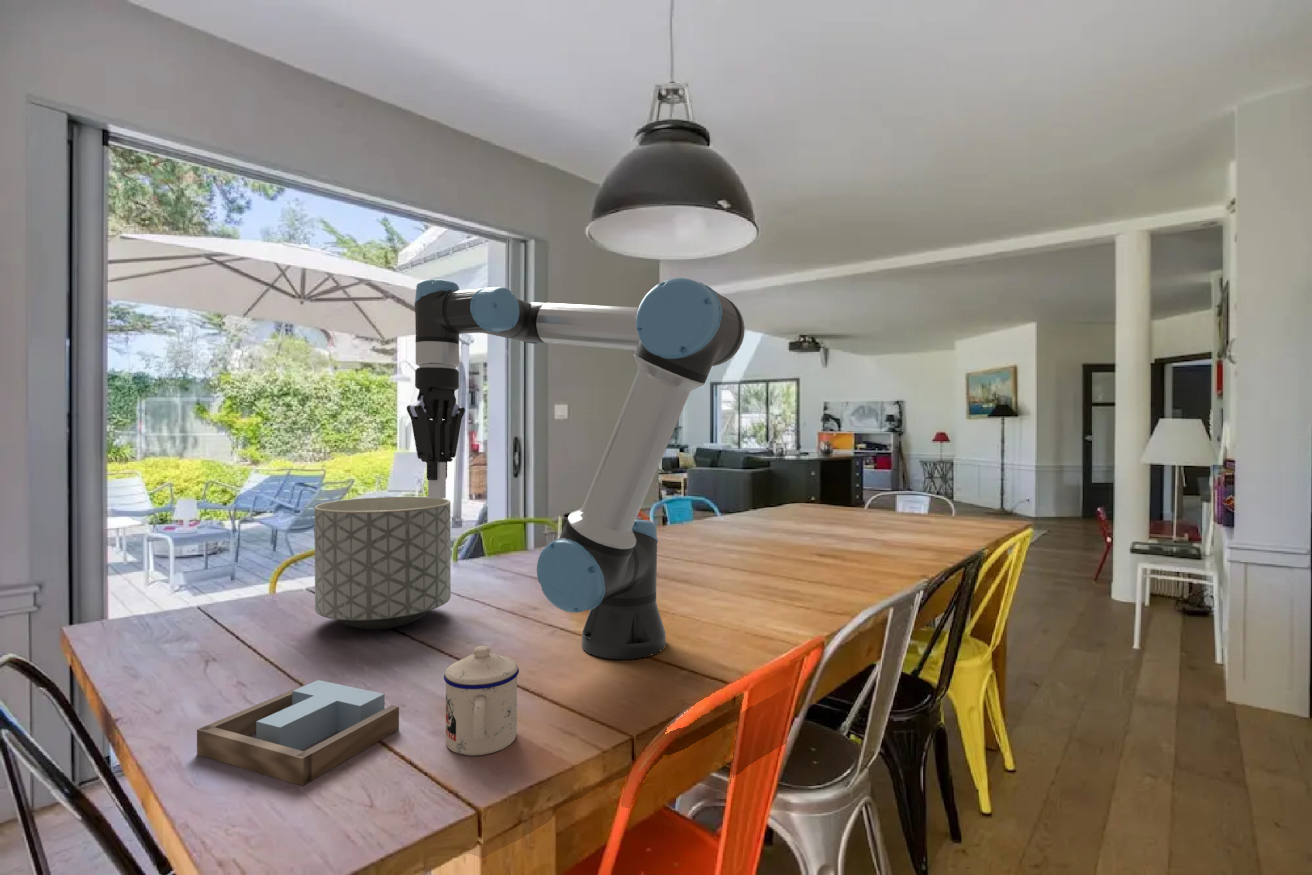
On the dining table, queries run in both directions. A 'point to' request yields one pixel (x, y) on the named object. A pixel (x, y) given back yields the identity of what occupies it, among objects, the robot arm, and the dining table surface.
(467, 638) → the dining table surface
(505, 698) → the teacup with lid
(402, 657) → the dining table surface
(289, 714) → the t block
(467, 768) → the dining table surface
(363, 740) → the frame
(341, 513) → the planter
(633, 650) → the robot arm
